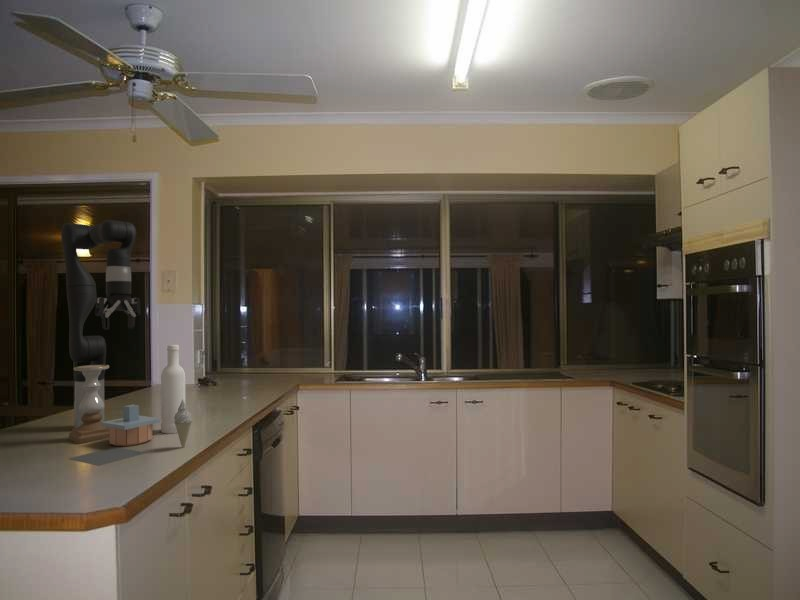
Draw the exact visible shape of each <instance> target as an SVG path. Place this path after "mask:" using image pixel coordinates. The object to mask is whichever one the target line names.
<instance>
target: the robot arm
mask: <svg viewBox="0 0 800 600" xmlns="http://www.w3.org/2000/svg"><path fill="white" fill-rule="evenodd" d="M136 236H137V228H136V226H135V225H134V224H133V223H132V222H129V221H121V220H112V219H106V220H103V221H102V223H98V224H95V225H93V226H92V225H88V224H81V223H71V222H70V223H68V222H66V223H64V224H63V225H62V227H61V231H60V240H61V245H62V247H61V248H62V253H63V259H64V266H65V267H64V268H65V281H66V283H65V285H66V299H67V307H68V318H69V319H68V322H69V325H68V326H69V328H68V329H69V330H68V350H69V352H68V353H69V356H70V359H71V360H72V361H73V362H74V363H85V362H86V363H87V362H90V364H89V365H106V361H107V360H106V359H107V343H106V339H105V338H104V337H103V336H102V335H83V333H84V332H83V331H84V324H85V322H86V320H87V318H88V316H89V315H90V313H91V312H92V310H93V308H94V307H95V312H94V314H95V316H96V317H99V318H101V327H102V329H103V330H110V318H109V317H110V316H111V314H113V312H115V311H119V312H120V311H123V312H124V313H125V314H126V315H127V328H128V329H134V328H135V326H136V317H137V316H141V312H142V311H141V298H140V297H133V298H132V297H131V296H132V269H131V255H132V249H133V245H134V243H135V240H136ZM111 243H121V245H120V247H117V248H109V249H108V250H107V251H106V269H105V270H106V271H105V295H106V297H102V296H101V297H97V296H98V295H97V285H96V280H95V279H94V278H93V276H92V275H91V274H90V272H89V271H88V269H86V268H85V266H84V264H82V262H81V260H80V258H79V256H78V252H77V250H93V249H95V248H96V247H98V246H100V245H103V244H104V245H106V244H111ZM105 304H107V305H106V307H105ZM131 304H132V306H131ZM105 373H106V369H104V370H102V371H101V373H100V375H99V376H98V382H99V383H100V384H101V386H99V389H98V395H99V396H100V398H101V399H102V400H103V402H104V403H105ZM85 381H86V379H85V376H84V375H83V374H82V371H76V373H75V374H74V402H73V429H74V428H78V427H79V426H80V425H81V424H83V423H84V422H82V420H81V417H82V416H83V415H84V413H82V412H81V411H80V410H79V405H80V403H81V402H82V400H83V399H84V397H85V395H86V391H85V389H84V387H83V385H84V383H85ZM100 413H101V414H102V419H101V420H100V421H101V422H105V408H104V409H103V410H102V411H100Z"/></svg>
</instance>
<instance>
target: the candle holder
mask: <svg viewBox="0 0 800 600" xmlns="http://www.w3.org/2000/svg"><path fill="white" fill-rule="evenodd" d="M109 368H110V365H109V364H105V365H90V364H89V365H80V366H75V367H73V370H74V371H75V372H79V371H82V374H83V375H84V376H85V379H86V381H85V383H84V385H83V387H84V389H85V391H86V395H85V397H84V399H83V400H82V402H81V403H80V405H79V410H80V411H81V412H82V413H84V415H83V416H82V417H81V420H82V422H84V423H83V424H81V425H80V426H79V427H78V428H74V427H73V428H72V429H71V432H70V433H68V440H69V441H71V442H72V443H75V444H77V445H82V444H88V443H92V442H97V441H101V440H102V441H103V440H106V439H109V427H104V426H101V421H100V420H101V419H102V414H101V413H100V411H102V410H103V409H104V410H105V401H104V402H103V400H102V399H101V398H100V396H99V395H98V389H99V386H101V384H100V383H99V382H98V376H99V375H100V373H101V371H102V370H104V369H105V370H108V369H109Z"/></svg>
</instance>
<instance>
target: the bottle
mask: <svg viewBox="0 0 800 600" xmlns="http://www.w3.org/2000/svg"><path fill="white" fill-rule="evenodd" d="M166 347H167V348H166V351H167V365H166V366H165V367H164V368H163V370H162V372H161V375H160V384H161V385H160V386H161V387H160V391H161V392H160V395H161V397H160V399H161V401H160V404H161V405H160V406H161V408H160V410H161V413H160V414H161V416H160V417H161V418H160V427H161V433H162V434H168V435H169V434H170V435H171V434H172V435H173V434H178V432H177V429H176V426H175V423H174V420H175V419H174V416H175V414H176V413H177V412H178V408H179V406H180V404H181V402H182V399H183V401H184V403H185V405H186V372H185V370H184V368H183V367H182V366H181V365H180V360H179V359H180V352H179V351H180V345H179V344H168V345H167V346H166ZM186 406H187V405H186Z"/></svg>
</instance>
